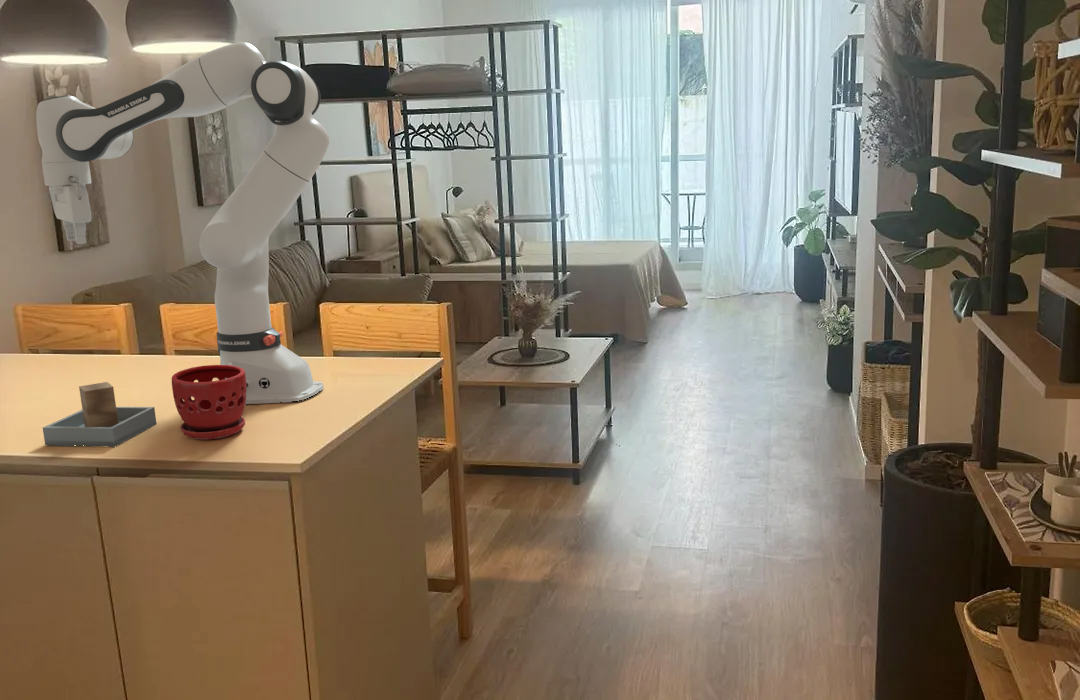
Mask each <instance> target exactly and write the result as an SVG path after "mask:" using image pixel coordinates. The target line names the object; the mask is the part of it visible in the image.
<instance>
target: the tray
mask: <svg viewBox="0 0 1080 700" xmlns="http://www.w3.org/2000/svg"><path fill="white" fill-rule="evenodd" d="M155 409H156V408H155V406H154V407H153V406H116V410H117V417H118V424H116V425H114V426H112V427H85V424H84V417H83V410H82V409H81V410H78V411H76V412H74V413H72V414H70V415H68V416H65V417H63V418H60V419H59V420H57V421H55V422H52V423H50V424H48V425H46V426H43V427H42V433H43V439H44V445H52V446H51V447H84V446H111V447H110V448H116V447H117V445H118V446H120V445H121V444H124V443H125V442H126V441H128V440H130V439H132V438H134V437H136V436H138V435H140V434H141V433H143V432H145V431H147V430H149V429H151V428H153V427H154V426H156V425H157V418H156V410H155ZM124 441H125V442H124ZM54 445H55V446H54ZM74 445H76V446H74ZM83 445H84V446H83ZM115 446H116V447H115Z"/></svg>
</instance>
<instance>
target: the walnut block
mask: <svg viewBox="0 0 1080 700" xmlns="http://www.w3.org/2000/svg"><path fill="white" fill-rule="evenodd" d="M78 388H79V395H80V402H81V410H83V417H84V424H85V427H112V426H114V425H116V424H118V417H117V410H116V407H117V405H116V404H117V403H116V399H115V396H116V395H115V389H114V386H113V385H112V384H110V382H108V381H103V382H97V383H91V384H86V385H79V386H78Z"/></svg>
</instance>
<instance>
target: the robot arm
mask: <svg viewBox="0 0 1080 700" xmlns="http://www.w3.org/2000/svg"><path fill="white" fill-rule="evenodd" d="M248 98H254V101H255V102H256V104H257V105H258V107H259V108H260V109H261V111H263V113H264V114H265V116H266V117H267V118H268V120H269V121H270V122H271V123H272V124H273V125H275V130H274V133H273V135H272V137H271V139H270V140H269V141H268V143H267V144H266V146H265V147H264V149H263V150H262V151H261V153H260V155H258V158H257V159H256V161H255V162H254V163H253V165H252V167H251V168H250V169H249V171H248V173H246V175H245V176H244V178H243V180H241V182H240V183H239V185H238V186H237V187H236V188H235V189H234V191H233V192H232V193H231V194H230V195H229V196H228V197H227V198H226V200H225V201H224V202H223V204H222V205H221V206H220V207H219V209H218V210H217V212H215V214H214V215H213V217H212V218H211V219H210V221H209V222H207V225H206V226H205V227H204V229H203V230H202V232H201V234H200V238H199V241H198V242H199V244H198V245H199V251H200V254H201V256H202V258H203V259H204V260H205V261H206V262H207V263H208V264H209V265H211V266H213V267H215V268H216V284H215V290H214V297H213V298H214V305H215V314H216V322H217V325H216V326H217V332H216V342H217V351H218V356H219V359H220V362H219V365H232V366H237V367H240V368H242V369H244V371H245V375H246V402H245V405H253V404H254V405H255V404H259V405H260V404H274V403H276V404H277V403H278V404H279V403H280V402H282V403H293V402H292V401H298V402H300V401H299V400H302V401H304V400H303V399H306V398H308V399H310V398H309V397H311V396H313V395H315V394H317V393H318V392H319V391H321V390H322V389H323V390H324V388H323V387H324V383H323V382H322V381H321V380H320V381H317V380H314V379H313V375H312V370H311V368H310V365H309V363H308V362H307V361H306V360H305V359H304V358H302V357H301V356H299V355H298V354H296V353H294V352H293V351H292V350H290V349H289V348H287V347H286V346H284V345H283V344H281V343H282V341H281V340H282V339H281V337H283V336H284V334H283V332H284V330H280V331H279V332H278V330H276V329H275V328H274V327H273V326H272V321H271V319H272V318H271V308H270V300H269V299H270V298H269V297H270V296H269V277H270V276H269V274H270V269H269V268H270V267H269V264H270V263H269V261H270V254H269V253H270V252H269V251H270V249H269V243H270V242H269V241H270V239H269V237H270V235H271V234H272V233H273V231H274V230H275V229H276V228H277V226H278V225H279V224H280V223H281V222H282V220H283V219H284V218H285V217H286V216H287V214H288V213H289V211H291V209H292V207H293V206H294V204H295V203H296V202H297V200H298V199H299V197H300V196H301V194H302V193H303V192H304V191H305V189H306V187H307V185H308V184H309V183H310V181H311V180H312V178H313V177H314V175H315V174H316V172H317V170H318V169H319V167H320V165H321V163H322V161H323V158H324V157H325V154H326V153H327V150H328V148H329V145H330V137H329V134H328V131H327V130H326V129H325V127H324V126H323V125H322V123H320V122H319V121H317V120H316V119H315V118H314V114H316V112H318V110H319V107H320V104H321V99H322V98H321V92H320V88H319V85H318V84H317V82H316V80H315V79H314V78H313V77H312V76H311V75H310V74H308V73H307V72H306V71H305V70H304V69H302V68H301V67H299V66H297V65H295V64H293V63H290V62H288V61H283V60H271V61H266V59H265V57H264V56H263V54H262V53H261V51H260V50H259V49H258V48H256V47H255V45H253V44H251V43H250V42H246V41H239V42H234V43H231V44H227V45H224V46H221V47H218V48H216V49H212V50H210V51H207V52H206V53H203V54H201V55H199V56H197V57H195V58H193V59H191V60H190V61H188V62H186V63H185V64H183V65H181V66H179V67H178V68H176V69H175V70H173V71H171V72H170V73H168V74H167V75H165V76H163V77H161V78H159V79H157V80H156V81H154V82H153V83H151V84H149V85H148V86H146V87H143V88H141V89H139V90H137V91H135V92H132V93H130V94H128V95H126V96H123V97H121V98H119V99H117V100H115V101H112V102H110V103H108V104H106V105H103V106H100V107H97V108H96V107H94V106H91V105H89V104H87V103H84V102H83V101H81V100H80V99H78V97H76V96H73V95H55V96H51V97H47V98H45V99H42V100H41V101H40V102H39V103H38V104H37V107H36V112H35V113H36V115H35V116H36V118H35V119H36V130H37V131H36V132H37V138H38V139H37V140H38V143H39V145H40V147H41V153H42V157H41V165H42V174H43V180H44V185H45V186H48V190H49V194H50V195H49V196H50V200H51V204H52V205H51V206H52V209H53V212H54V214H55V217H56V219H58V220H62V226H63V228H64V232H65V236H66V240H67V242H68V241H69V242H75V243H76V244H77V245H86V244H87V235H86V233H87V232H86V231H87V224H86V223H91V222H92V210H91V205H90V204H91V203H90V199H89V193H88V190H87V186H86V185H90V184H92V176H91V175H92V174H91V170H90V162H92V161H96V160H110V159H111V160H112V159H116V158H120V157H122V156H124V155H126V154H127V153H128V152H129V151H130V150H131V148H132V146H133V144H134V131H135V130H137V129H139V128H142V127H144V126H146V125H148V124H152V123H154V122H156V121H160V120H164V119H173V118H196V117H197V118H198V117H202V116H206V115H211V114H213V113H216V112H219V111H221V110H224V109H226V108H228V107H230V106H232V105H234V104H236V103H238V102H240V101H242V100H245V99H248ZM225 379H227V378H225ZM323 390H322V391H323ZM322 391H321V392H322ZM318 394H319V393H318ZM318 394H317V395H318ZM315 396H316V395H315ZM313 397H314V396H313ZM311 398H312V397H311ZM306 400H307V399H306ZM280 404H281V403H280Z"/></svg>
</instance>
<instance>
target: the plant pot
mask: <svg viewBox="0 0 1080 700" xmlns="http://www.w3.org/2000/svg"><path fill="white" fill-rule="evenodd" d="M225 378H227V379H225ZM213 379H217V380H213ZM171 387H172V388H171V389H172V396H173V400H174V404H175V408H176V411H177V413H178V415H179V417H180V418H181V421H182V422H183V423H181V425H180V427H179V428H180V432H181V433H182V434H183V435H184V436H186V437H188V438H190V439H193V440H205V441H207V440H216V439H222V438H227V437H230V436H232V435H235V434H237V433H238V432H240V431H241V430H242V429H243V428H244V426H245V425H246V420H245V418H244V417H243V416H242V415H243V413H244V410H245V408H246V407H245V406H246V404H245V402H246V375H245V371H244V369H242V368H240V367H237V366H232V365H220V364H209V365H207V364H206V365H198V366H193V367H190V368H186V369H182V370H180V371H178V372H177V371H176V373H174V374H173V375H172V377H171ZM192 398H193V399H192Z"/></svg>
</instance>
